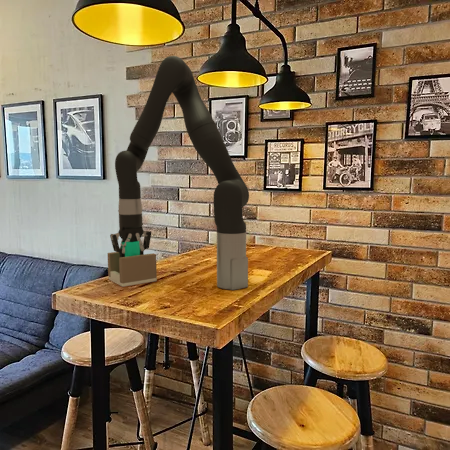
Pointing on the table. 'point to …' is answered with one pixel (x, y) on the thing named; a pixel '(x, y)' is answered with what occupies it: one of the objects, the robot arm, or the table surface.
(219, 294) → the table surface
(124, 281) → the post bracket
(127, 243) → the candle
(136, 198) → the robot arm
